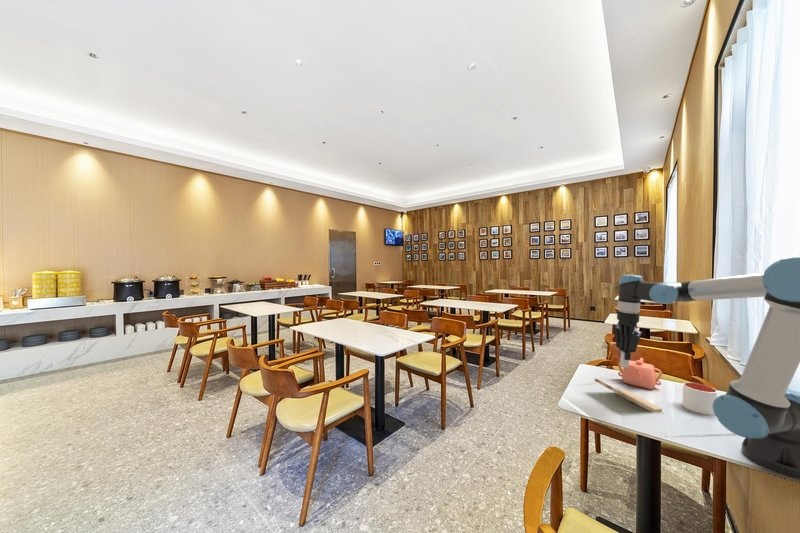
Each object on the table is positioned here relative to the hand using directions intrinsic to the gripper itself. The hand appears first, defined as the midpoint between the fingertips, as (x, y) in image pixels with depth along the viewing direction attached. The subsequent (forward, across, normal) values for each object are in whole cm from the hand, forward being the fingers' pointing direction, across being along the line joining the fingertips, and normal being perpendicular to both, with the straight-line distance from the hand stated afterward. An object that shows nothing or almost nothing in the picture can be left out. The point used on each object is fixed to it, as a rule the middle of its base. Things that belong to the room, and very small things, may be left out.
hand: (624, 366), depth 129 cm
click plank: (+13, 0, 0) cm, 13 cm away
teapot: (+17, +18, -24) cm, 35 cm away
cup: (+17, -6, -28) cm, 34 cm away
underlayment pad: (+17, 0, -1) cm, 17 cm away
